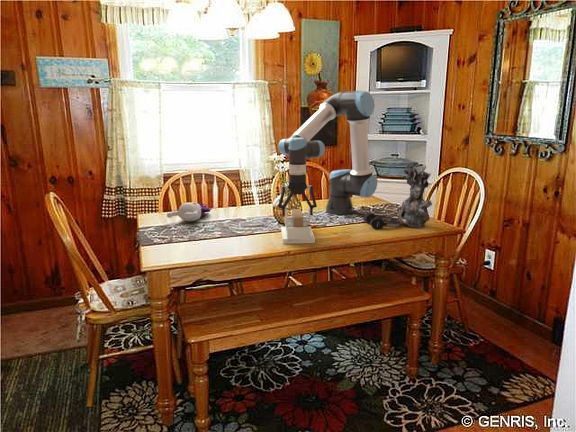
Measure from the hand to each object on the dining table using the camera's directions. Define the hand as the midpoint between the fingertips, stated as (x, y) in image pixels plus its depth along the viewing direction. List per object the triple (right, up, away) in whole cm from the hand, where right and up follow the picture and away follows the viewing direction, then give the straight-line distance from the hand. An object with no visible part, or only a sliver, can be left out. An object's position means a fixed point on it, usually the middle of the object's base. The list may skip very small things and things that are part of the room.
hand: (297, 222), depth 199 cm
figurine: (-53, +1, +30) cm, 61 cm away
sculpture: (+58, -2, +19) cm, 61 cm away
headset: (+42, -2, +20) cm, 46 cm away
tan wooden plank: (0, -1, 0) cm, 1 cm away
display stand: (0, -6, +2) cm, 7 cm away
